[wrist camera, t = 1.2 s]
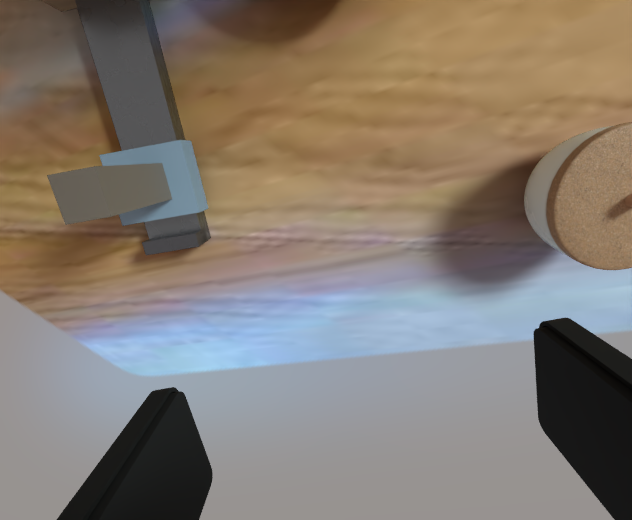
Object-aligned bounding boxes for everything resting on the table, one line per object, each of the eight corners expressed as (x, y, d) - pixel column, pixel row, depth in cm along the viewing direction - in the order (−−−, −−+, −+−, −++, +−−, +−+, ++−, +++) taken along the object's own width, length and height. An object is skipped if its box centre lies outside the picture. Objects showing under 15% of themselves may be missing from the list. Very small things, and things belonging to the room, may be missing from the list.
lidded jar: (540, 267, 35) (615, 306, 26) (480, 183, 33) (538, 194, 24) (643, 196, 33) (762, 212, 24) (585, 101, 31) (693, 79, 22)
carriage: (115, 155, 32) (5, 155, 21) (190, 140, 31) (118, 133, 20) (136, 220, 33) (44, 252, 22) (208, 208, 33) (150, 235, 22)
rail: (89, 5, 30) (60, -14, 26) (146, -8, 29) (124, -28, 26) (162, 246, 36) (145, 255, 32) (210, 237, 35) (199, 246, 32)
